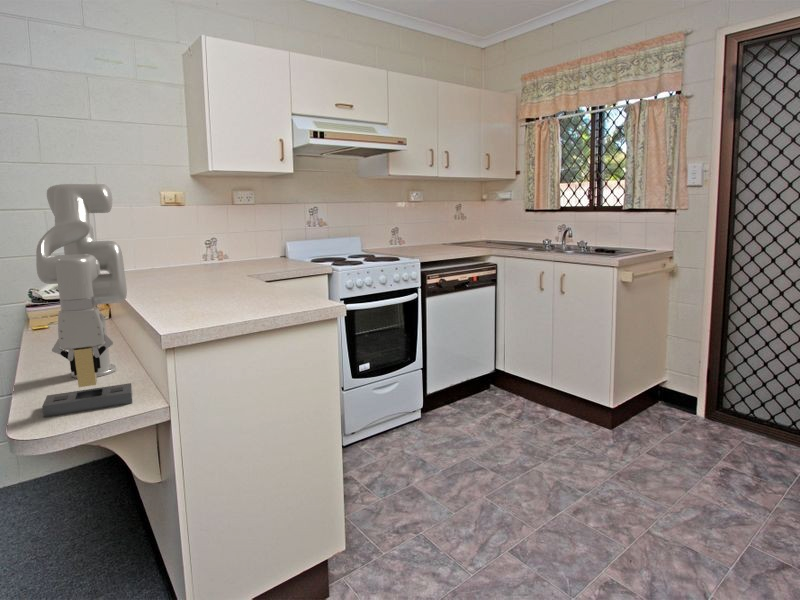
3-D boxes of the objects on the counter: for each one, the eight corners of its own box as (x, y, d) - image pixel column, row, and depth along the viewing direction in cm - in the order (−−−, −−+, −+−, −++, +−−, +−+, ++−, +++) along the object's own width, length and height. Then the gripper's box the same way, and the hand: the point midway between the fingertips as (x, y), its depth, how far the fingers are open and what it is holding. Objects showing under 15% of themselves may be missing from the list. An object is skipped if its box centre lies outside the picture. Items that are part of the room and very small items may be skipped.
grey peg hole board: (48, 406, 141) (47, 395, 140) (132, 393, 149) (131, 382, 149) (43, 417, 133) (42, 406, 132) (132, 403, 141) (131, 392, 141)
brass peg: (79, 383, 141) (75, 346, 139) (97, 380, 143) (92, 344, 141) (78, 387, 137) (73, 350, 136) (96, 384, 139) (91, 348, 137)
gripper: (114, 299, 143) (122, 364, 146) (41, 305, 136) (51, 373, 139) (113, 303, 137) (121, 371, 140) (37, 310, 129) (47, 381, 132)
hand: (86, 371), depth 139 cm, fingers closed on brass peg, 4 cm apart
